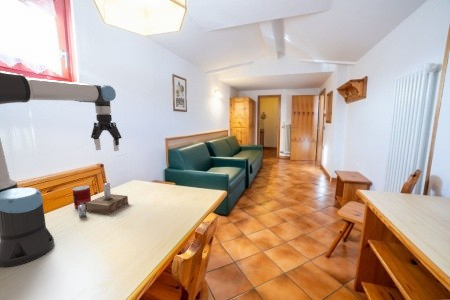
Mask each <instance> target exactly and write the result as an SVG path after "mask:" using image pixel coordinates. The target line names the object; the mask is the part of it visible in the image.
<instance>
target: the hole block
mask: <svg viewBox="0 0 450 300" xmlns="http://www.w3.org/2000/svg"><path fill="white" fill-rule="evenodd" d="M128 198H129V197H128V195H123V194H113V193H111V200H109V201H105V196H104V195H102V196H99V197H97V198H94V199H93V200H92V199H91V201H90V202H87V203H86V204H87V207H86V213H87V212H88V213H95V214H101V215H105V216H107V215H111V214H113V213H115V212H116V211H118V210H120V209H121V208H123V207H125V206H127V205H129V200H128Z"/></svg>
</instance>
